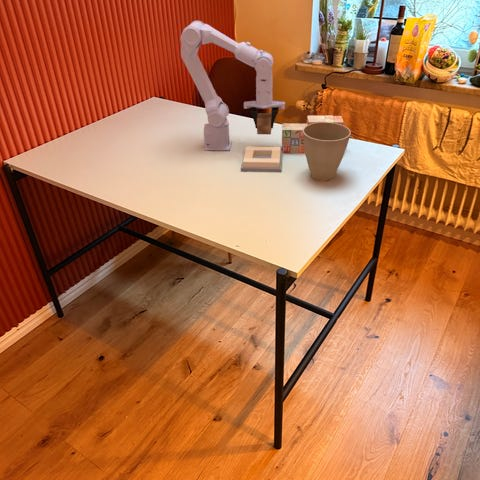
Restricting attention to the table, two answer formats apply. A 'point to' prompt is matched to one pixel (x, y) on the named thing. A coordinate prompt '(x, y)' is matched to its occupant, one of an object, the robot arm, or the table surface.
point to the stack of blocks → (294, 132)
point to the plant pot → (325, 148)
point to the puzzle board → (262, 159)
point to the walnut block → (264, 123)
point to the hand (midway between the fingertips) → (264, 127)
